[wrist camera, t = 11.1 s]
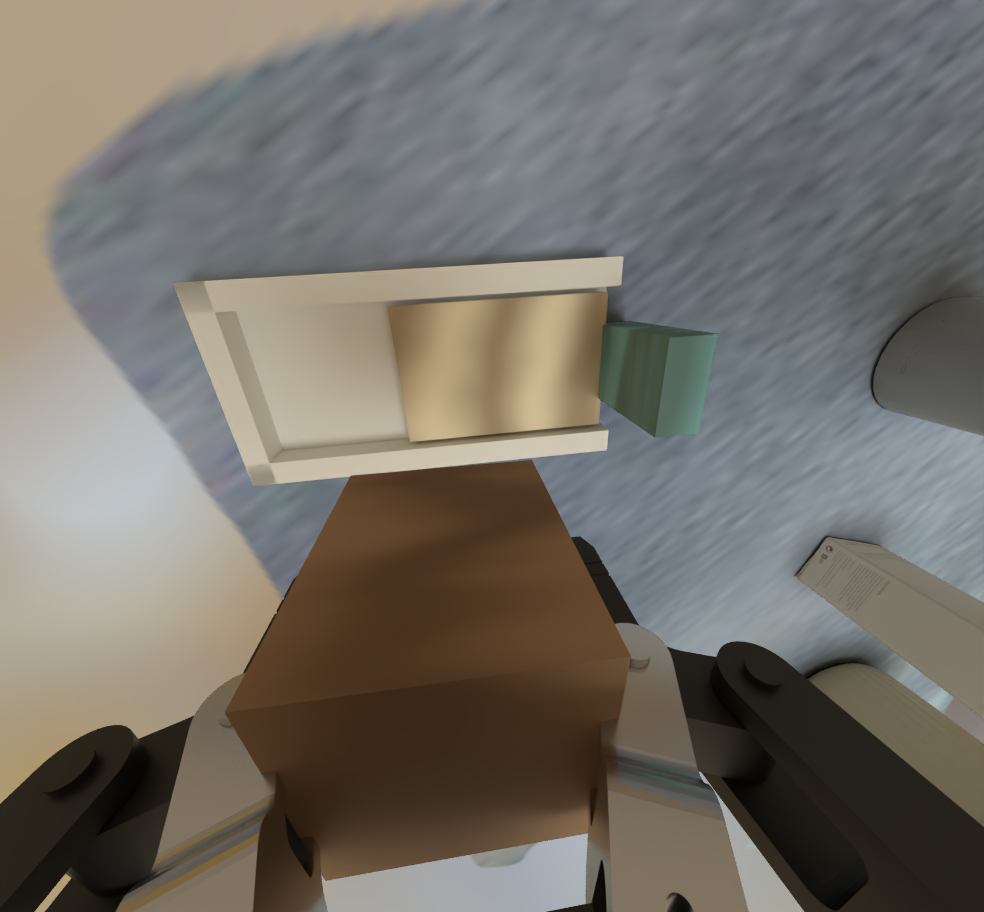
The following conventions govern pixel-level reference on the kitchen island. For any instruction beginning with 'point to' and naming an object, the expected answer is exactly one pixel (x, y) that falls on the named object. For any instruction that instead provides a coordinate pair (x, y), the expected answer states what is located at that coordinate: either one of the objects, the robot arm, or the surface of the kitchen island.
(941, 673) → the skincare box
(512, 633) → the block
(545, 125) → the kitchen island surface
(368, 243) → the kitchen island surface
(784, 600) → the kitchen island surface
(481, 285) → the cream tray
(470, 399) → the l-shaped stand
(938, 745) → the canister
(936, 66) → the kitchen island surface
